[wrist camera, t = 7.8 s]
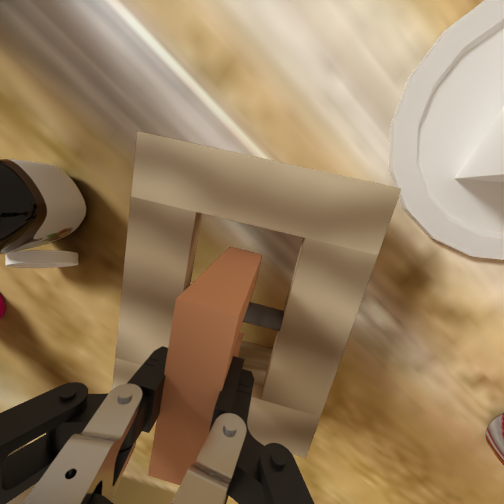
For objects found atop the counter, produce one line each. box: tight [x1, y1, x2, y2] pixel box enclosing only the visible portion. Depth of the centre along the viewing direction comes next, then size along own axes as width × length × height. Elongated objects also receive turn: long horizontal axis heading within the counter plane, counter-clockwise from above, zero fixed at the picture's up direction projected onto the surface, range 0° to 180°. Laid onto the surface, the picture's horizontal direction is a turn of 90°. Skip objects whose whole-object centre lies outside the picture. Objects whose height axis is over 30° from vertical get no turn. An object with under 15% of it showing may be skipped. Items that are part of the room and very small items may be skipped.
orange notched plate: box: [148, 247, 262, 485], centre depth 16 cm, size 10×3×10 cm, turn 167°
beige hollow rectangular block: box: [112, 131, 401, 458], centre depth 26 cm, size 23×18×12 cm
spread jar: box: [0, 159, 88, 268], centre depth 28 cm, size 12×11×12 cm
